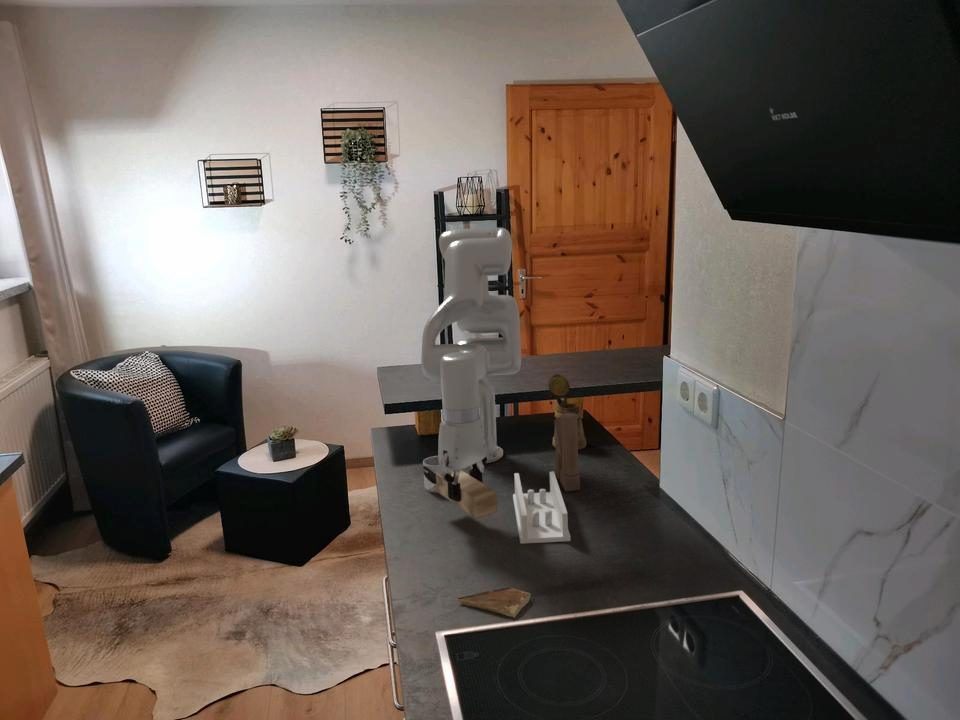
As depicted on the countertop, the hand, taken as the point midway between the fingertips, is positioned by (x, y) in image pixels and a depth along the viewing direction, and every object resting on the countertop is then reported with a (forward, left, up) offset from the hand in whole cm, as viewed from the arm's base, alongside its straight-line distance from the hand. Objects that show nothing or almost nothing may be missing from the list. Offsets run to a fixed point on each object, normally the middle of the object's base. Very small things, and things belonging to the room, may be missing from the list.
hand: (465, 493), depth 157 cm
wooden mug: (-14, +52, -7) cm, 55 cm away
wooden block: (+3, +30, -7) cm, 31 cm away
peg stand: (+10, +11, -7) cm, 17 cm away
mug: (-18, +9, -7) cm, 21 cm away
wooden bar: (0, 0, -2) cm, 2 cm away
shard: (+26, -20, -8) cm, 34 cm away
